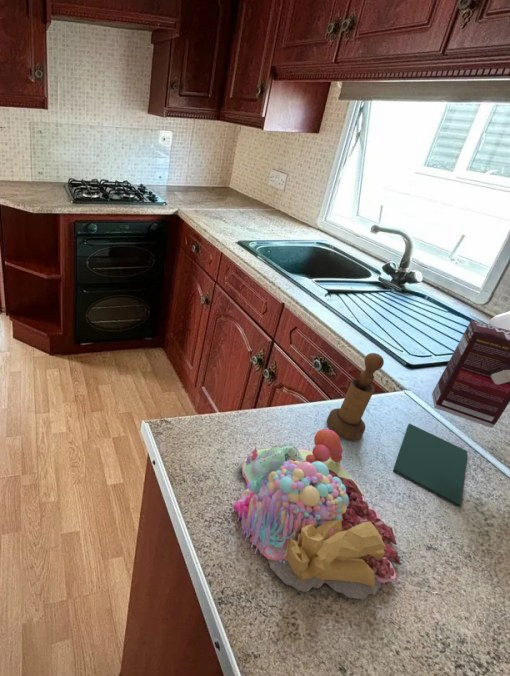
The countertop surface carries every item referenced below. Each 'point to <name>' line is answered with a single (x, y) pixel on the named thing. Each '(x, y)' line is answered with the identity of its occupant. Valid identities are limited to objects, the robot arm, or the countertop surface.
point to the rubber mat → (432, 464)
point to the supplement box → (476, 376)
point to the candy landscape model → (315, 520)
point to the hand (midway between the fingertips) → (483, 367)
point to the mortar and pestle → (355, 402)
